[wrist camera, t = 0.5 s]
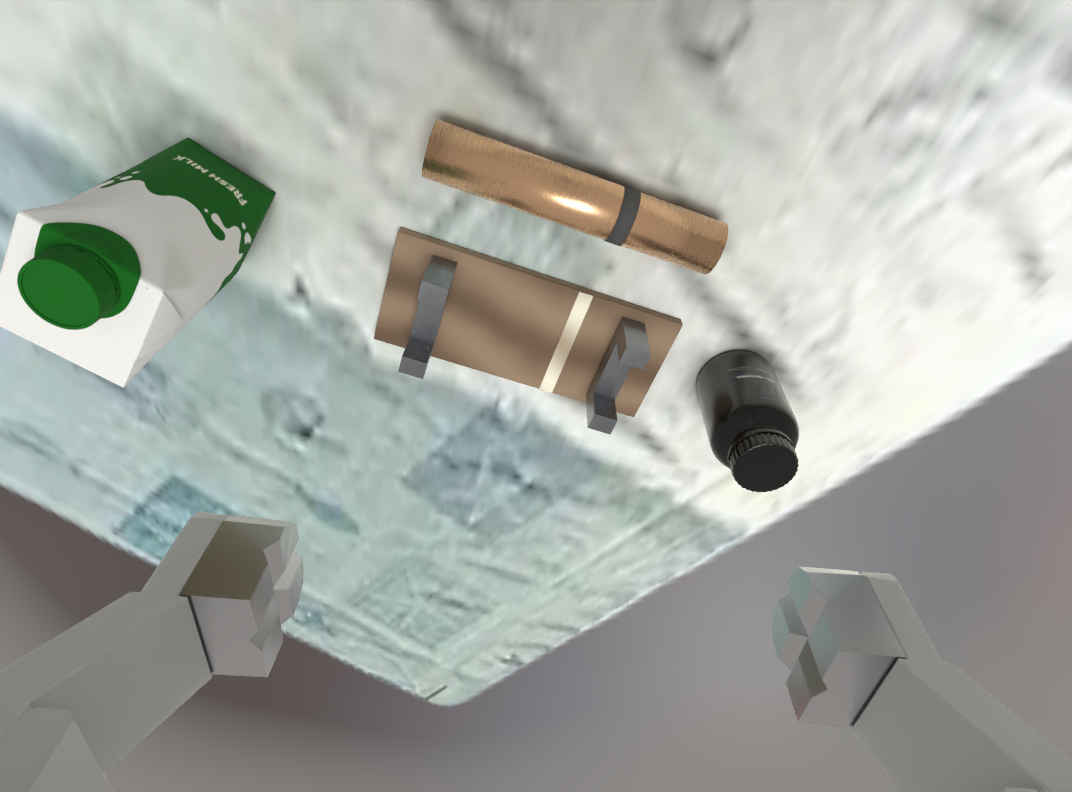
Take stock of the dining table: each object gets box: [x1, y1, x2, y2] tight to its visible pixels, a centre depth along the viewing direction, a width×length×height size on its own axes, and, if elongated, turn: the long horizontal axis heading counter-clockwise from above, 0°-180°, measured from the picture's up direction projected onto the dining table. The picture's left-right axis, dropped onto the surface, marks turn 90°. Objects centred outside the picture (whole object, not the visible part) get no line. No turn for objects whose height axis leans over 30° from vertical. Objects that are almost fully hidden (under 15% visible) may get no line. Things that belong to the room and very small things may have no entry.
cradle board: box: [374, 227, 682, 417], centre depth 56 cm, size 10×24×1 cm, turn 71°
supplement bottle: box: [696, 351, 799, 492], centre depth 53 cm, size 7×7×12 cm
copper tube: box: [422, 119, 728, 274], centre depth 48 cm, size 22×4×4 cm, turn 71°
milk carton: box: [0, 138, 276, 387], centre depth 43 cm, size 9×9×20 cm
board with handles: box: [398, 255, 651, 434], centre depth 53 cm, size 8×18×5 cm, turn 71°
